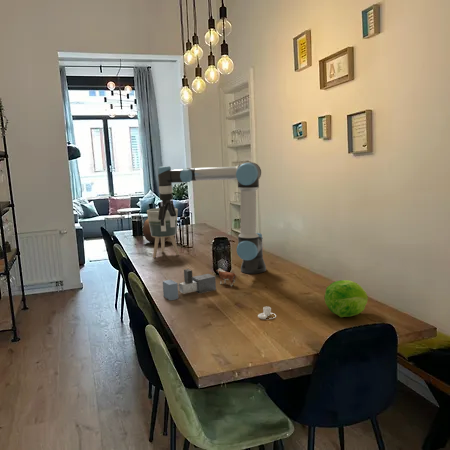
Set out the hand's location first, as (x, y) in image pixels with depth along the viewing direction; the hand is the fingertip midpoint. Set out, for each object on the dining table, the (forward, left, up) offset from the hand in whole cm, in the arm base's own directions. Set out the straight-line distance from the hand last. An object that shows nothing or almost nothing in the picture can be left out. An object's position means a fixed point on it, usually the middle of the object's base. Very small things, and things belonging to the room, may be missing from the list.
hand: (168, 229), depth 259 cm
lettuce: (-101, +53, -28) cm, 117 cm away
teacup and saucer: (-63, +59, -28) cm, 91 cm away
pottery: (+46, -92, -28) cm, 106 cm away
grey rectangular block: (-29, +27, -28) cm, 48 cm away
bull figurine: (-38, +15, -28) cm, 49 cm away
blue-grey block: (-15, +41, -28) cm, 52 cm away
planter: (+23, -50, -28) cm, 62 cm away
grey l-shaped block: (-25, +31, -26) cm, 48 cm away
